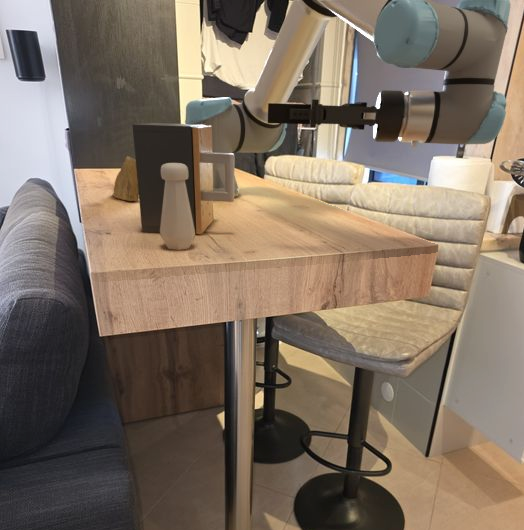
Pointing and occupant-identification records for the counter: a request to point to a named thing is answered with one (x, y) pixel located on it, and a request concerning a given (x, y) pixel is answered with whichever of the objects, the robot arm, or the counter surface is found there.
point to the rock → (127, 181)
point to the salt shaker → (176, 208)
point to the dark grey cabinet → (149, 166)
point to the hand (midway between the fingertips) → (271, 113)
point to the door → (209, 177)
